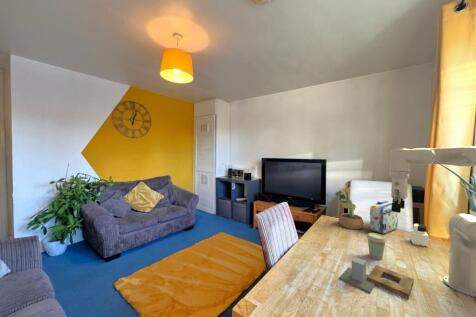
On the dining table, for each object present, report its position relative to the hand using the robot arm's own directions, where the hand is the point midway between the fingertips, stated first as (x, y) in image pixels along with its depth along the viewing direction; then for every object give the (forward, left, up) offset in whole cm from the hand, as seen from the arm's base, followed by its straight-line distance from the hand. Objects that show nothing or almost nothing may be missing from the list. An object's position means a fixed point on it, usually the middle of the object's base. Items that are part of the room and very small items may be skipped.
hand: (398, 209), depth 93 cm
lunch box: (+16, -56, -31) cm, 66 cm away
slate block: (+10, +21, -30) cm, 38 cm away
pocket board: (0, +12, -30) cm, 33 cm away
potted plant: (+36, -44, -31) cm, 65 cm away
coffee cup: (+10, -8, -31) cm, 33 cm away
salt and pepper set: (-4, -48, -31) cm, 57 cm away
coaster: (+10, +21, -30) cm, 38 cm away
